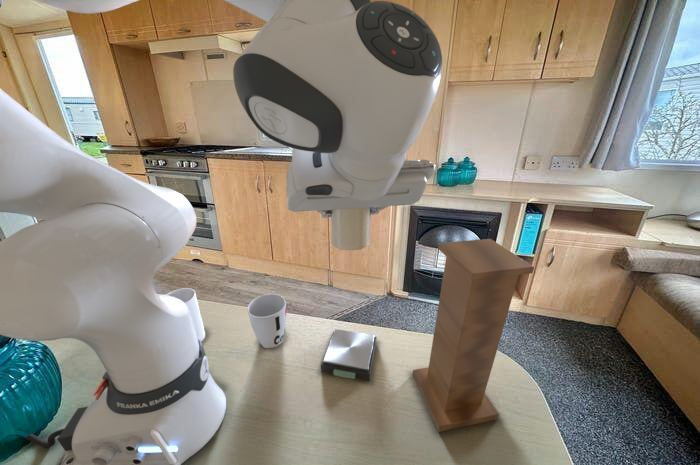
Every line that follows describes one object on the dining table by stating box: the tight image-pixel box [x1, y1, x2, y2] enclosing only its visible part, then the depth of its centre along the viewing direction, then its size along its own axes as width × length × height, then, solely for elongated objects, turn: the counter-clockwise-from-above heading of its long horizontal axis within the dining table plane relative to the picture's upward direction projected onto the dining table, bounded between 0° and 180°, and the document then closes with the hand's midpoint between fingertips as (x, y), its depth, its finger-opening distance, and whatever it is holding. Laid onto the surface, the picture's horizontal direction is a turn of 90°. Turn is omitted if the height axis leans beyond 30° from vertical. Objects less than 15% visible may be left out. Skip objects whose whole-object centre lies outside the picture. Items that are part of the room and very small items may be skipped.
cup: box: [246, 293, 287, 349], centre depth 62 cm, size 8×8×10 cm
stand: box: [412, 238, 535, 433], centre depth 46 cm, size 11×11×30 cm
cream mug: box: [329, 207, 371, 251], centre depth 48 cm, size 7×9×10 cm
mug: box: [165, 287, 206, 343], centre depth 60 cm, size 10×7×12 cm, turn 178°
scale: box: [320, 328, 377, 382], centre depth 59 cm, size 10×10×3 cm
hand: (349, 212), depth 47 cm, fingers closed on cream mug, 7 cm apart
